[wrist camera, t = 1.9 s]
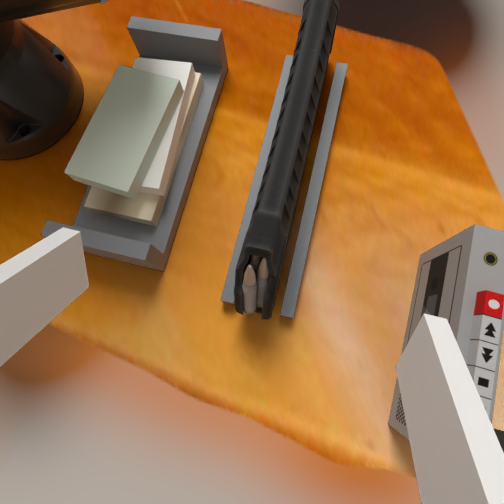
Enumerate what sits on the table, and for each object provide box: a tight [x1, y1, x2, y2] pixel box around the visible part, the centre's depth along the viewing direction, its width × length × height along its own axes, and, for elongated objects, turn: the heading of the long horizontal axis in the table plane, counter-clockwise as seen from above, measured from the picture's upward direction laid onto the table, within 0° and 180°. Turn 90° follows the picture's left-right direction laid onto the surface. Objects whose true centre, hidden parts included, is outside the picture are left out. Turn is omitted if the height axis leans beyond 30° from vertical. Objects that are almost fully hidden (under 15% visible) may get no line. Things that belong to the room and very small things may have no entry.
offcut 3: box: [84, 72, 204, 226], centre depth 34 cm, size 7×17×2 cm, turn 166°
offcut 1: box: [64, 65, 184, 199], centre depth 31 cm, size 6×12×2 cm, turn 161°
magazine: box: [234, 0, 340, 319], centre depth 30 cm, size 17×3×30 cm
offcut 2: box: [133, 57, 196, 196], centre depth 33 cm, size 6×14×2 cm, turn 170°
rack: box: [41, 16, 348, 319], centre depth 33 cm, size 23×28×5 cm
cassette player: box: [388, 224, 504, 440], centre depth 25 cm, size 16×3×10 cm, turn 163°
